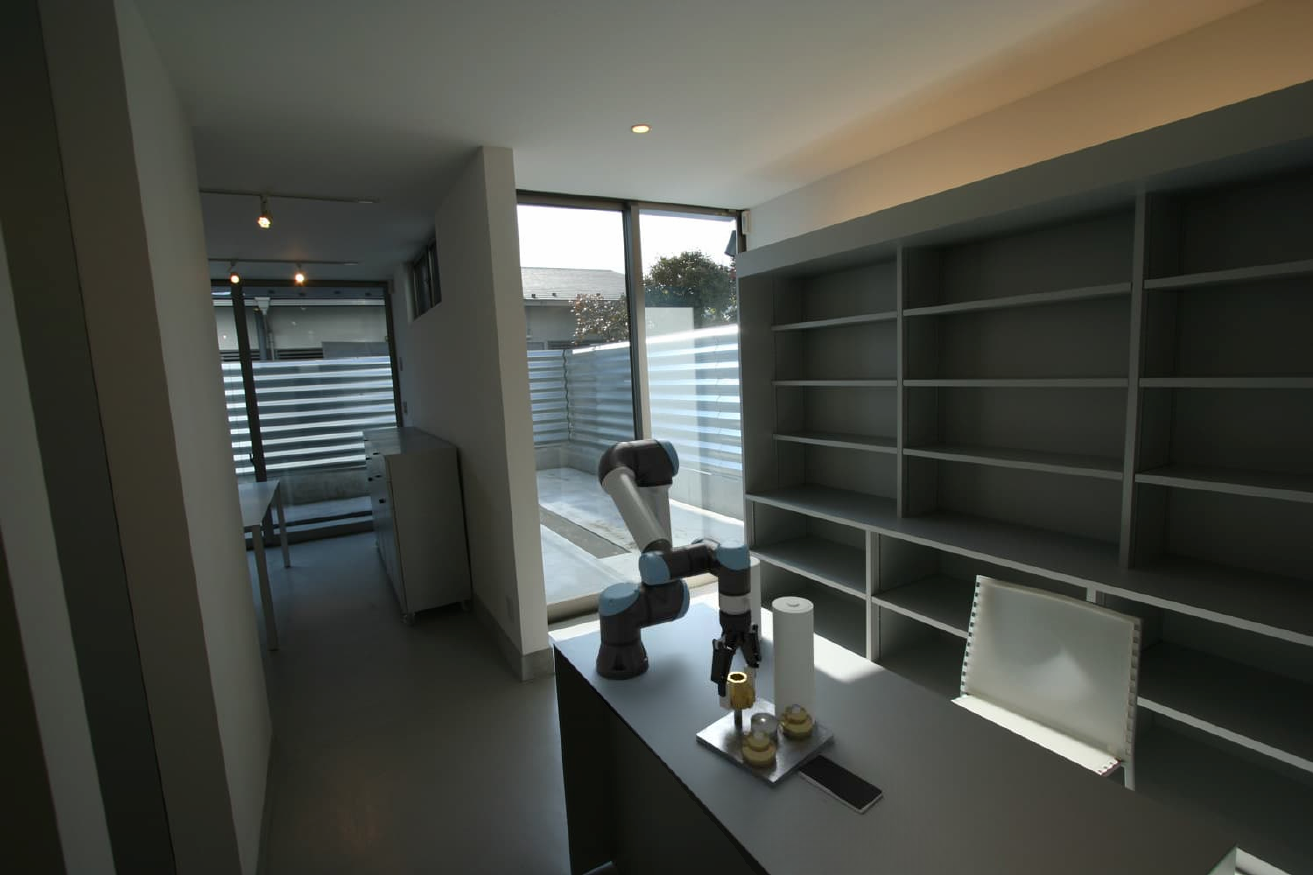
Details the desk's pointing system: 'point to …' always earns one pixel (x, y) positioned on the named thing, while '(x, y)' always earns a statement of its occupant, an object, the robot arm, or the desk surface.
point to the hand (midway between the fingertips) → (737, 699)
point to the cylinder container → (793, 655)
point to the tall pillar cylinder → (756, 594)
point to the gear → (740, 691)
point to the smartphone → (840, 783)
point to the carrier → (766, 740)
